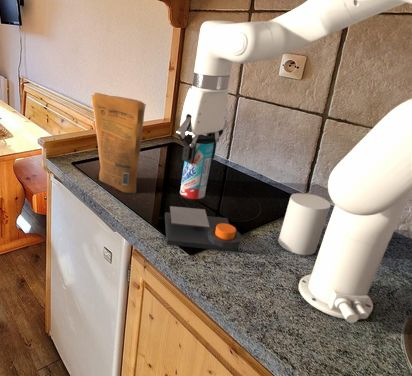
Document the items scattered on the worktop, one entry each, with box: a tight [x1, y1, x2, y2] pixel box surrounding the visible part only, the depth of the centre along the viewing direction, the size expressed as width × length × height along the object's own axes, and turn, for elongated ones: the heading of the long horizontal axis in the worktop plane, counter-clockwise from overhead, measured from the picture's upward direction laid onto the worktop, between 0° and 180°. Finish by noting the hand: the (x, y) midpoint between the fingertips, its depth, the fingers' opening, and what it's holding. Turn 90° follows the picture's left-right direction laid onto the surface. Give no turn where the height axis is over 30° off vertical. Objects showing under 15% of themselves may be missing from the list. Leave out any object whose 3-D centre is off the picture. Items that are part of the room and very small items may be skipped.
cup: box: [277, 192, 331, 256], centre depth 95 cm, size 8×8×12 cm
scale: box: [164, 211, 243, 253], centre depth 100 cm, size 15×17×3 cm
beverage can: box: [179, 134, 214, 202], centre depth 97 cm, size 6×6×15 cm
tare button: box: [215, 223, 237, 240], centre depth 95 cm, size 4×4×2 cm
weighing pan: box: [169, 205, 210, 228], centre depth 102 cm, size 9×9×1 cm
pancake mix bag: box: [90, 92, 147, 194], centre depth 120 cm, size 7×19×28 cm, turn 39°
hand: (198, 158), depth 95 cm, fingers closed on beverage can, 6 cm apart
